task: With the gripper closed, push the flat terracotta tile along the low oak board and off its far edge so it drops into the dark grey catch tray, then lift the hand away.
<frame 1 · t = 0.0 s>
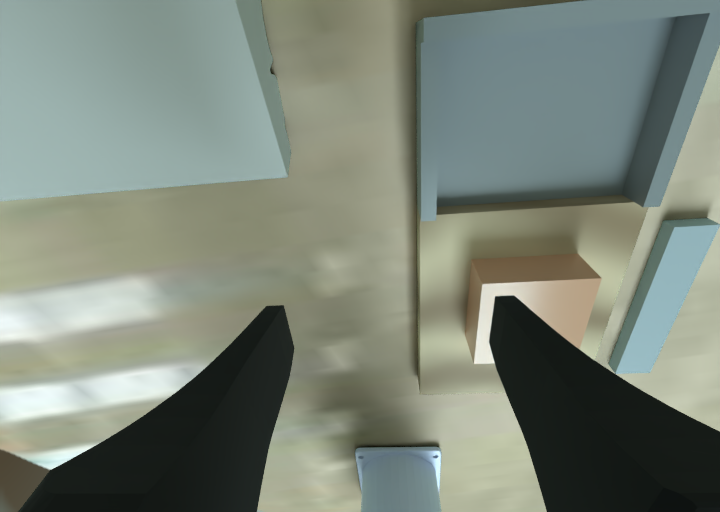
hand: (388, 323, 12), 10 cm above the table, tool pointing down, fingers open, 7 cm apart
tile: (516, 297, 22), point 1 cm above the table, touching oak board
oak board: (506, 301, 24), on the table
pale blue flat panel: (648, 298, 24), on the table
catch tray: (535, 115, 18), on the table
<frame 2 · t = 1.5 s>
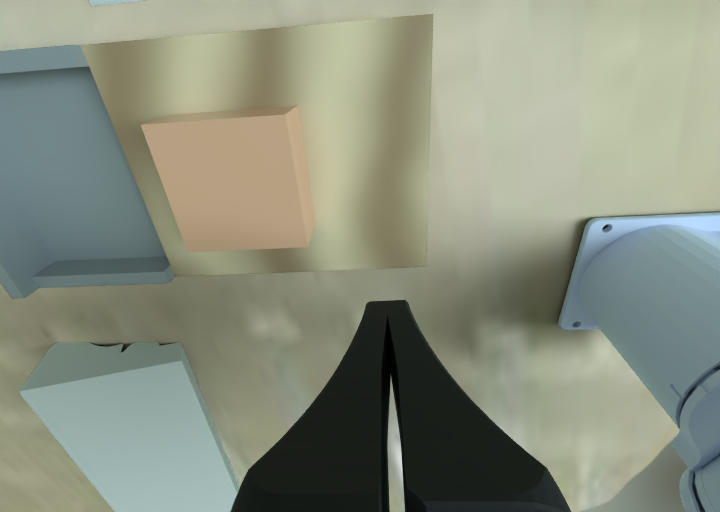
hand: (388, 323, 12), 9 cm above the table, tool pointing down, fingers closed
tile: (248, 173, 18), point 1 cm above the table, touching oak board
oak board: (284, 163, 19), on the table
catch tray: (75, 176, 20), on the table
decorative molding: (191, 460, 36), on the table
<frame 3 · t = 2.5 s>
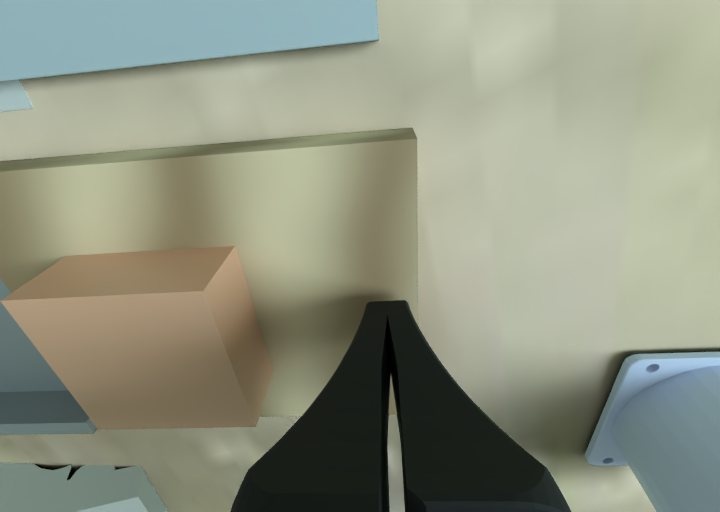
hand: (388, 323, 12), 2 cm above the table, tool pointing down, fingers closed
tile: (179, 319, 13), point 1 cm above the table, touching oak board
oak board: (231, 293, 15), on the table
pale blue flat panel: (164, 14, 10), on the table
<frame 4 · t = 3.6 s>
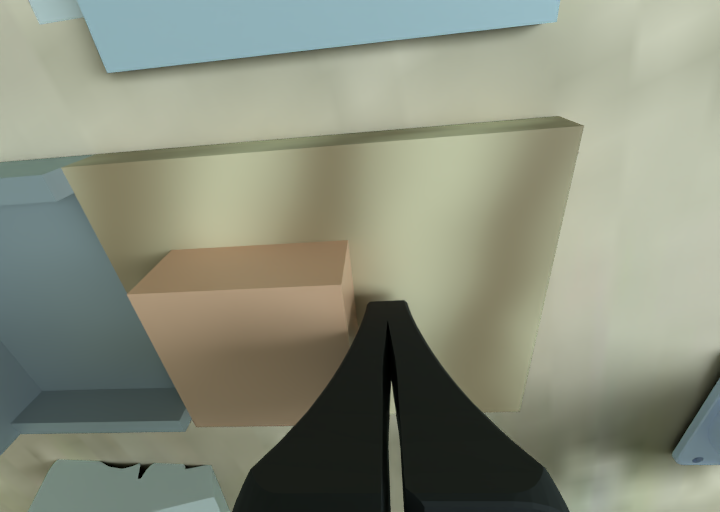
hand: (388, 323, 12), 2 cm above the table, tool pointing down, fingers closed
tile: (276, 315, 13), point 1 cm above the table, touching gripper, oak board
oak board: (337, 288, 14), on the table
catch tray: (63, 301, 15), on the table
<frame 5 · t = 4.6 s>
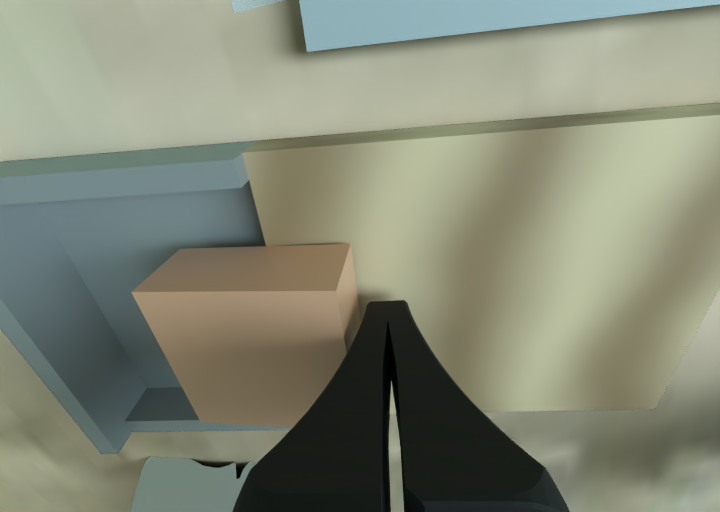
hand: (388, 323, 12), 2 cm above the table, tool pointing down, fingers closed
tile: (281, 316, 13), point 1 cm above the table, touching gripper, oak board
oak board: (478, 281, 14), on the table
catch tray: (186, 295, 15), on the table
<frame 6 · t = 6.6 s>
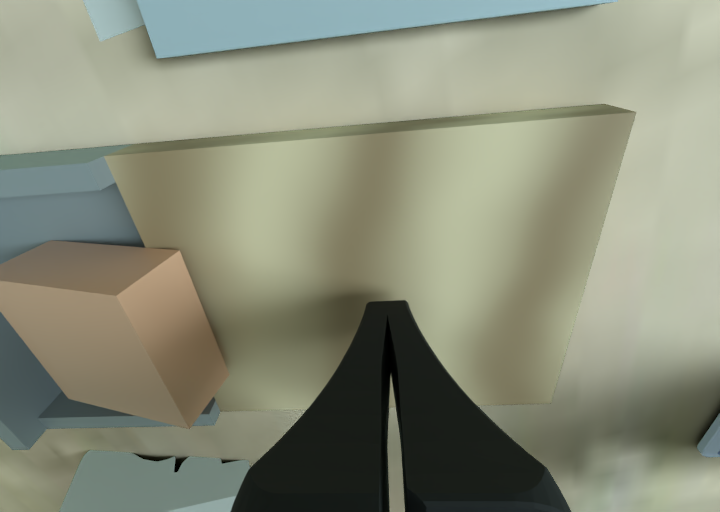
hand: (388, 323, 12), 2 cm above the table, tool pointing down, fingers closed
tile: (144, 310, 14), point 1 cm above the table, tilted 14°, touching catch tray, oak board
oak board: (370, 280, 14), on the table
catch tray: (92, 294, 15), on the table
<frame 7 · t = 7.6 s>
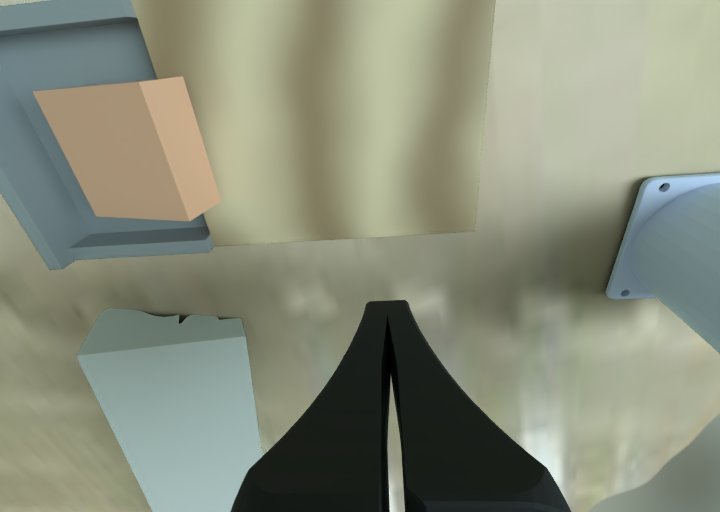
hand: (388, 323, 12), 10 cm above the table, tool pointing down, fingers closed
tile: (155, 145, 18), point 1 cm above the table, tilted 14°, touching catch tray, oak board
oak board: (330, 124, 18), on the table
catch tray: (113, 142, 19), on the table
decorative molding: (216, 442, 35), on the table
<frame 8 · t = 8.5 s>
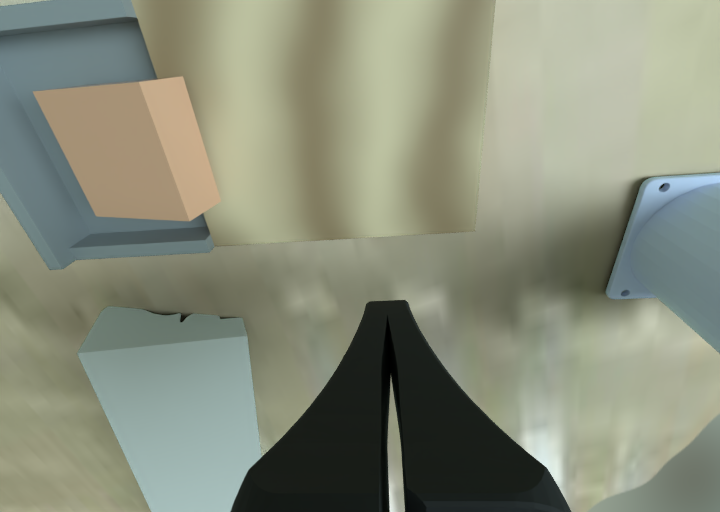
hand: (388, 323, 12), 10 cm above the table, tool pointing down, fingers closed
tile: (155, 145, 18), point 1 cm above the table, tilted 14°, touching catch tray, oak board
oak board: (330, 124, 18), on the table
catch tray: (113, 142, 19), on the table
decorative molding: (215, 441, 35), on the table
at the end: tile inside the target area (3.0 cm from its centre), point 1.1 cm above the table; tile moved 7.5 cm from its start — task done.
